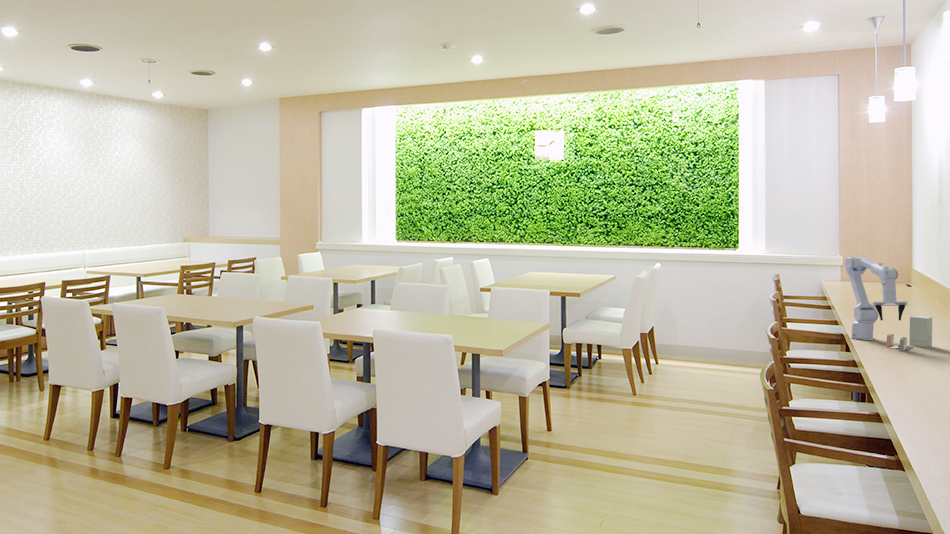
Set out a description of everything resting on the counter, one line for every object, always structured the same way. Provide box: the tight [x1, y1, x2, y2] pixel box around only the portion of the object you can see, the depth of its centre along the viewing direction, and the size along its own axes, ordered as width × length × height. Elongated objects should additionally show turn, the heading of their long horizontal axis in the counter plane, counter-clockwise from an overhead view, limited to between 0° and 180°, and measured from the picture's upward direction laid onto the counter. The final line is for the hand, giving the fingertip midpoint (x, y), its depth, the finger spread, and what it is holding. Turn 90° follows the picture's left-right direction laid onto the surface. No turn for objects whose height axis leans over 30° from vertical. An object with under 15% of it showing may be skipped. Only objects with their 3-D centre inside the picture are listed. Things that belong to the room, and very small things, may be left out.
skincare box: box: [908, 315, 933, 349], centre depth 332 cm, size 8×6×15 cm
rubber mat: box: [897, 344, 914, 351], centre depth 328 cm, size 8×10×1 cm
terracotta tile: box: [885, 333, 895, 348], centre depth 331 cm, size 2×6×6 cm, turn 136°
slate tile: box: [898, 336, 908, 353], centre depth 321 cm, size 2×6×6 cm, turn 136°
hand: (890, 320), depth 330 cm, fingers open, 7 cm apart
